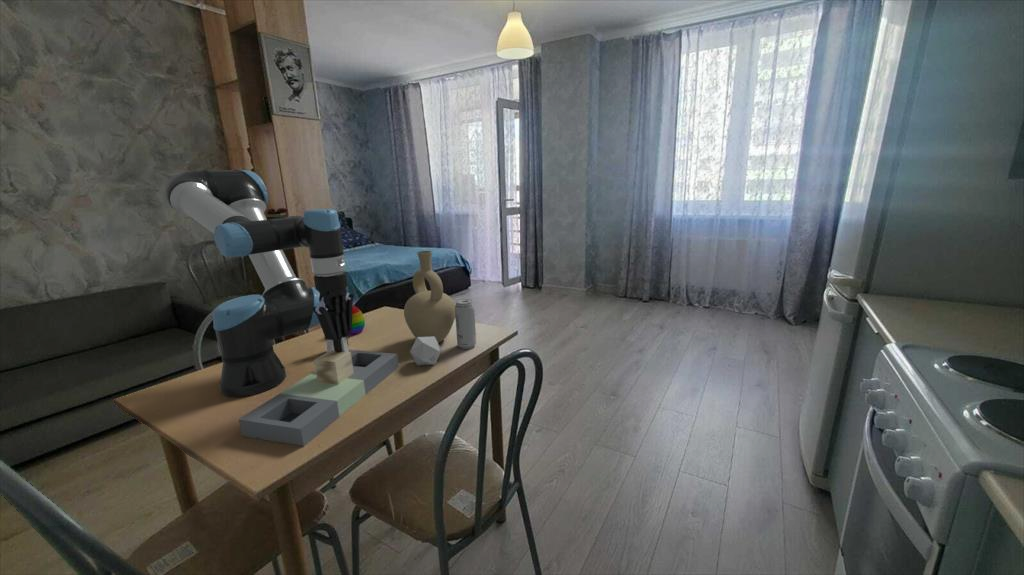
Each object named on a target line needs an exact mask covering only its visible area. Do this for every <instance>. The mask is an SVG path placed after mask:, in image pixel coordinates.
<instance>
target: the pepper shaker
mask: <svg viewBox="0 0 1024 575" xmlns="http://www.w3.org/2000/svg"><path fill="white" fill-rule="evenodd" d="M326 349H327V352H328V351H330V350H334V344H333V340H327V339H326ZM327 352H326V353H327Z"/></svg>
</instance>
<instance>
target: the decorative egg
mask: <svg viewBox="0 0 1024 575" xmlns="http://www.w3.org/2000/svg"><path fill="white" fill-rule="evenodd" d="M365 326H366V320H365V316H364V314H363V312H362V311H361V310H360V308H358V307H357V306H355V305H352V331H349V332H348V333H351V335H350V336H352V335H358V334H361V333H362V332H363V331H364V329H365Z"/></svg>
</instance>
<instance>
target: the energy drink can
mask: <svg viewBox="0 0 1024 575" xmlns="http://www.w3.org/2000/svg"><path fill="white" fill-rule="evenodd" d="M475 314H476V313H475V305H474V304H473V301H472V299H469V298H462V299H459V300H456V302H455V328H456V343H457V346H458V347H459V348H460V349H462V350H470V349H473V348H475V346H476V344H477V336H476V335H477V333H476V315H475Z"/></svg>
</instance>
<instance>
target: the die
mask: <svg viewBox="0 0 1024 575" xmlns="http://www.w3.org/2000/svg"><path fill="white" fill-rule="evenodd" d="M441 352H442V348H441V346H440V344H439V343H438V342H437V340H436V338H435V336H433V337H417V338H416V337H415V341H414V343H413V345H412V347H411V349H410V350H409V353H410V354H411V357H412V358H413V361H414V362H415V363H416V366H436V363H437V361H438V360H439V357H440V355H441Z"/></svg>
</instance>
